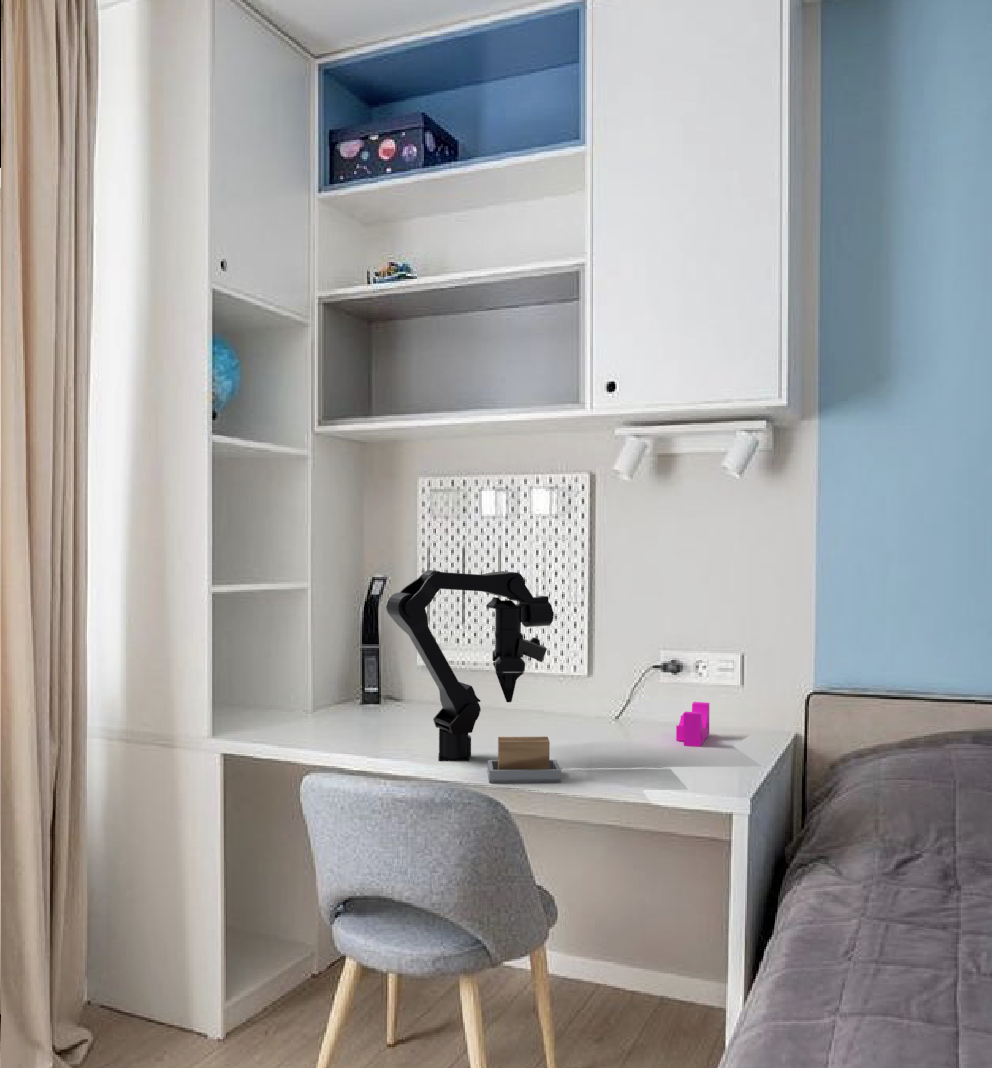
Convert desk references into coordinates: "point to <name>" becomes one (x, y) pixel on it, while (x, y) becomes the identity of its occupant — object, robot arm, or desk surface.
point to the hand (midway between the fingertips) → (507, 698)
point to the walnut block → (523, 753)
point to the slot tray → (524, 774)
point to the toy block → (694, 725)
